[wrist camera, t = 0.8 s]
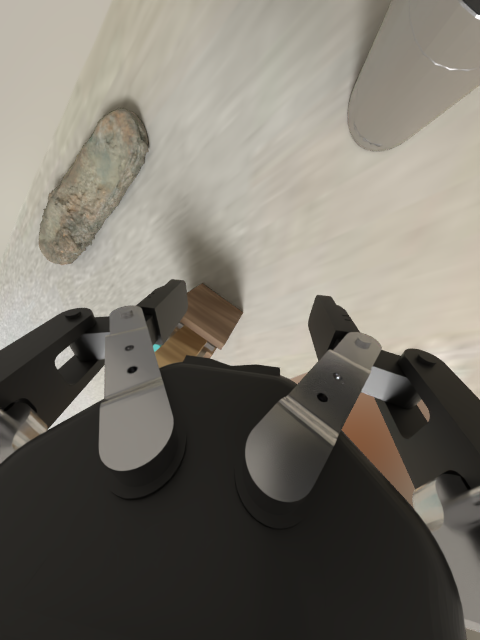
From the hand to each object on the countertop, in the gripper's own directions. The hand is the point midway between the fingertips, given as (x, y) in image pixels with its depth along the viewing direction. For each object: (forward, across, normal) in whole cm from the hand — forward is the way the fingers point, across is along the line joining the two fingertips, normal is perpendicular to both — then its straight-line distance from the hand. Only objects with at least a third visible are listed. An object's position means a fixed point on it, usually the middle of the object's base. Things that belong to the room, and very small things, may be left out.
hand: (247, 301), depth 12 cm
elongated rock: (+29, +33, -2) cm, 43 cm away
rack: (+23, +8, +16) cm, 29 cm away
